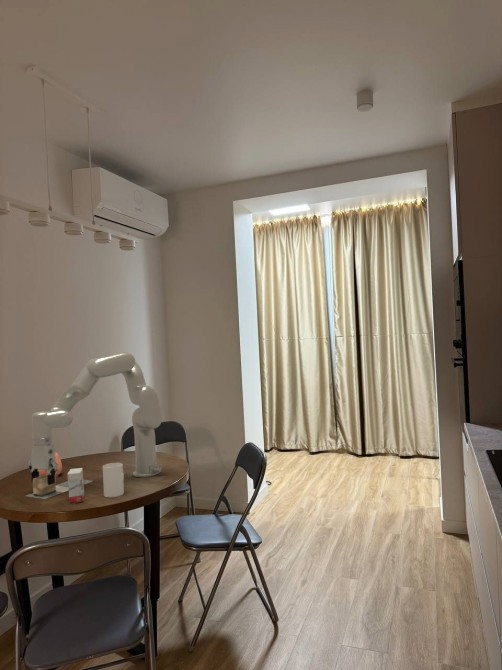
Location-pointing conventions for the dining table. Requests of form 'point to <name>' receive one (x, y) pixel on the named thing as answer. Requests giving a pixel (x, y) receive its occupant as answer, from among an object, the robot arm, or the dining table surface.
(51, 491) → the block
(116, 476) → the mug
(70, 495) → the ink box
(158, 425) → the robot arm
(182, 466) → the dining table surface
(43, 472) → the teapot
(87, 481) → the grey board
